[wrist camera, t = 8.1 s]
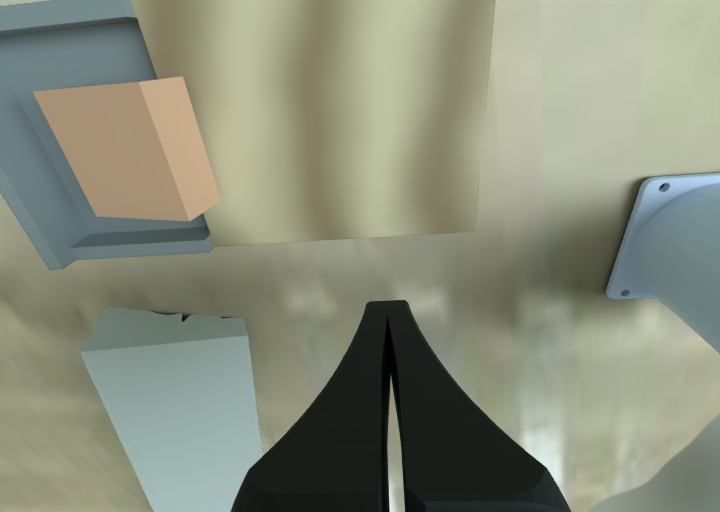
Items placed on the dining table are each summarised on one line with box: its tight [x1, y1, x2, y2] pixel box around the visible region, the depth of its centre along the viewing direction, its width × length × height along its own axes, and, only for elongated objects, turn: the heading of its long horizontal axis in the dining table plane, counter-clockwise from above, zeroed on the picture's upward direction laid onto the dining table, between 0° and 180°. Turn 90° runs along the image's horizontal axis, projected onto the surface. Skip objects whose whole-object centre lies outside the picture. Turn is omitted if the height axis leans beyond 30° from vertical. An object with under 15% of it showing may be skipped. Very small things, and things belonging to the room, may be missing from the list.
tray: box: [0, 0, 215, 270], centre depth 18 cm, size 9×12×3 cm
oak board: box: [131, 0, 496, 246], centre depth 18 cm, size 15×12×2 cm
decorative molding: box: [79, 307, 262, 512], centre depth 34 cm, size 34×5×10 cm
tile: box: [32, 76, 221, 221], centre depth 17 cm, size 6×6×2 cm
